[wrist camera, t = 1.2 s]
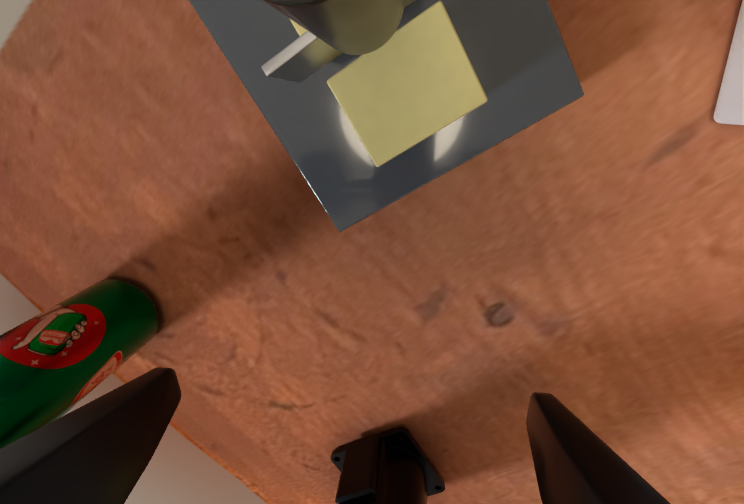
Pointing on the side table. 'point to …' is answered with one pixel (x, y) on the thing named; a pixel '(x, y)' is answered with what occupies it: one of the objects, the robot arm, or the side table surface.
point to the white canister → (733, 80)
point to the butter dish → (430, 156)
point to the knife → (332, 32)
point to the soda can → (69, 353)
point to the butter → (408, 85)
